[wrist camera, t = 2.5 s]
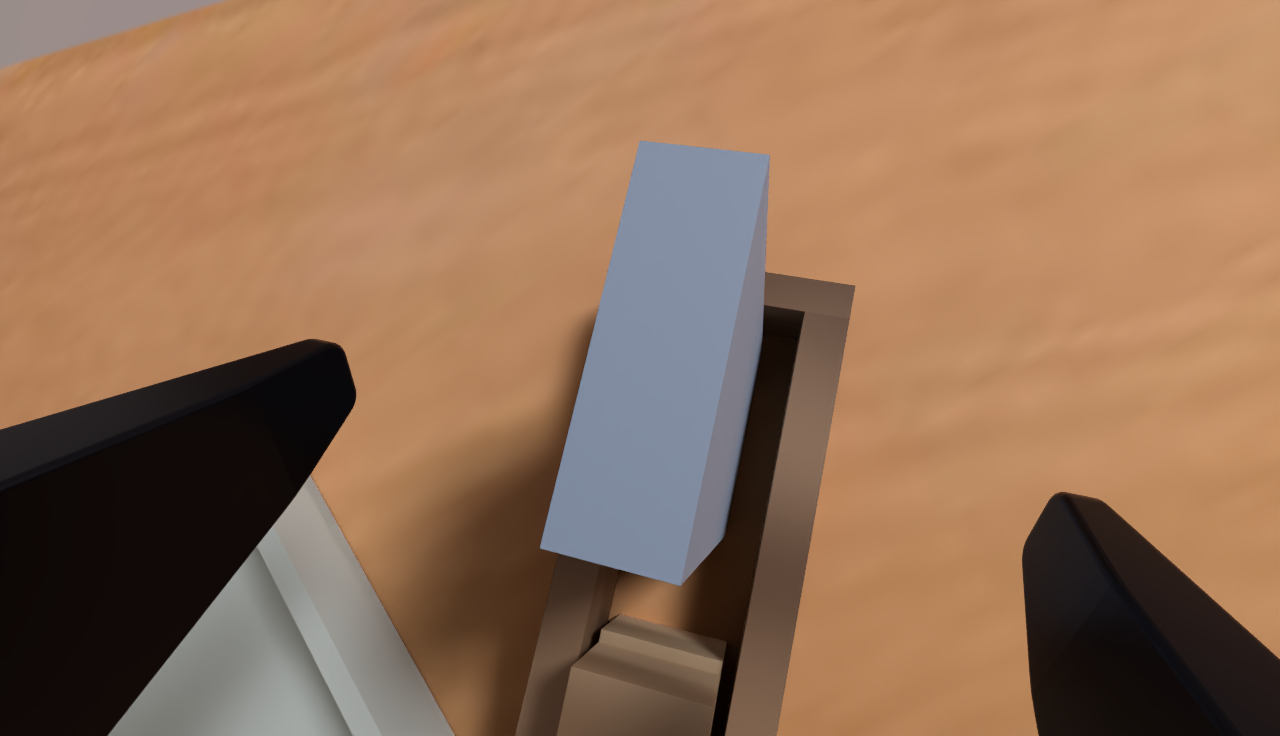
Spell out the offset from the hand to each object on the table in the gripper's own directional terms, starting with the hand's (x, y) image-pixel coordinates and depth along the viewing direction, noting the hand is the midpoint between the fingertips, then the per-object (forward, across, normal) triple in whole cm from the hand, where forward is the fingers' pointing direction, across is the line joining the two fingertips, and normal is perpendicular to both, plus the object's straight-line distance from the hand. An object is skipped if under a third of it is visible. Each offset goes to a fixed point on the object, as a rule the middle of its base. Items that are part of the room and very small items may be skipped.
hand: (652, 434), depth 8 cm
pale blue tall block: (+7, 0, +6) cm, 9 cm away
